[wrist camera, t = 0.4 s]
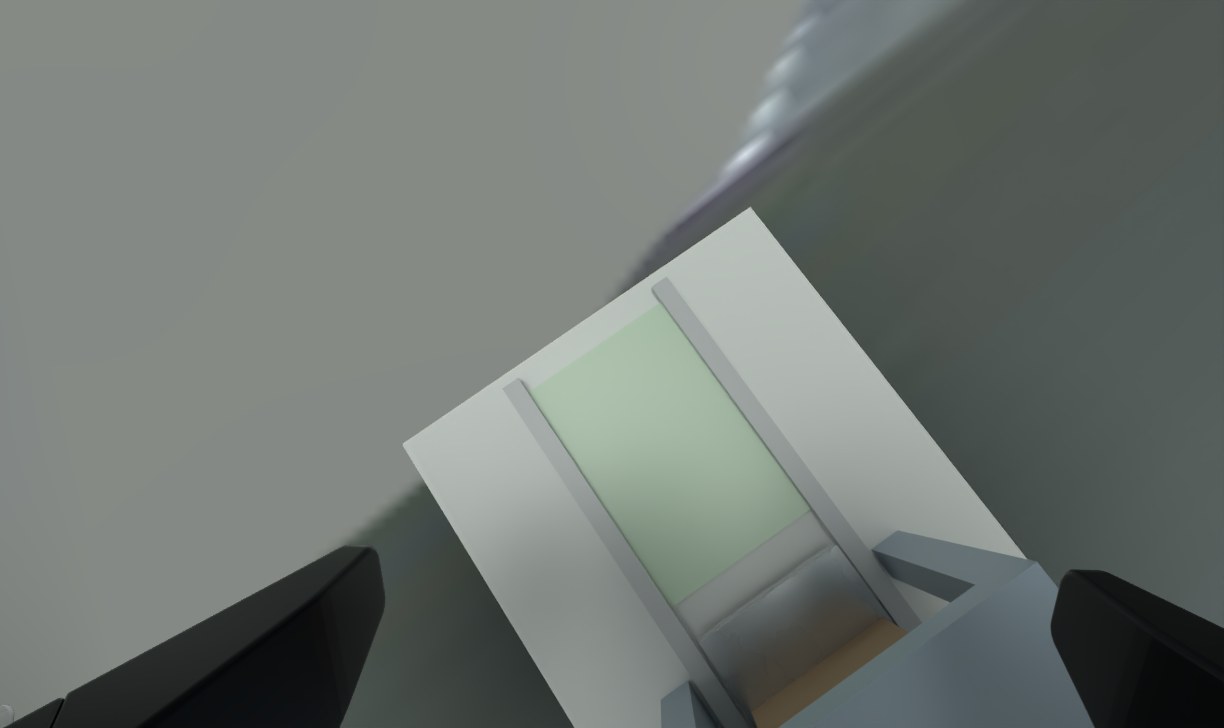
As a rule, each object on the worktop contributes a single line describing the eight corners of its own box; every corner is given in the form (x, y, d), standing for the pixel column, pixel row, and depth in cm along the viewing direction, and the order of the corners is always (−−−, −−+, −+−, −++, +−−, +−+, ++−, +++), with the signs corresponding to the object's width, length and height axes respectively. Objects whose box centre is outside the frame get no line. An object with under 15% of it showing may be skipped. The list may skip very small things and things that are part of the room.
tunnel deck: (1231, 866, 20) (1777, 1235, 10) (861, 1150, 19) (1067, 1826, 10) (741, 233, 24) (796, 74, 15) (427, 447, 24) (271, 428, 14)
